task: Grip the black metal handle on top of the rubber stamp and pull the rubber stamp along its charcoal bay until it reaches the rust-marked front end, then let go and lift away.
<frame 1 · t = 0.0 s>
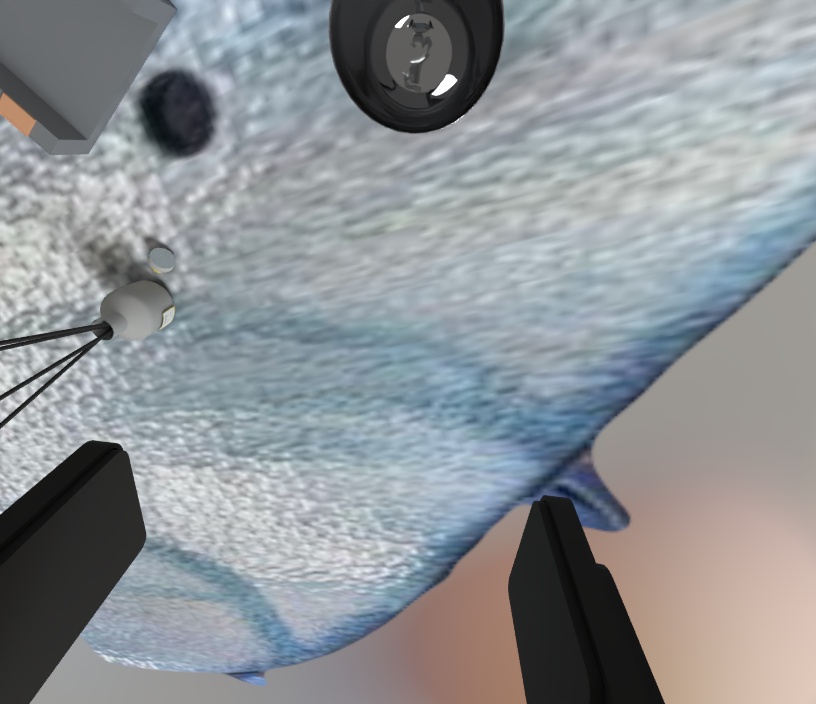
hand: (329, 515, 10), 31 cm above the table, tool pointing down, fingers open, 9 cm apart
wine glass: (423, 81, 33), on the table
reed diffuser: (148, 290, 42), on the table
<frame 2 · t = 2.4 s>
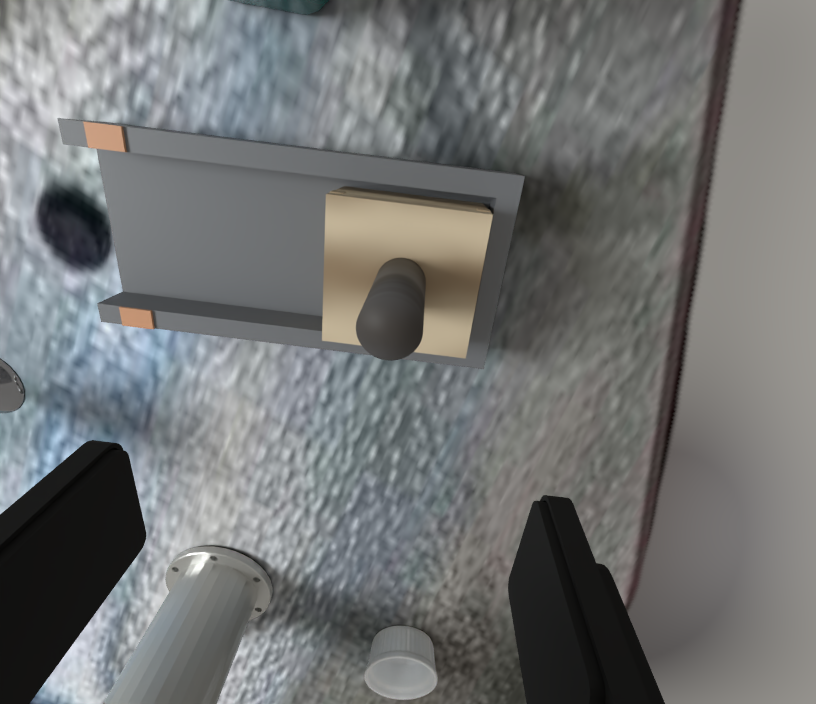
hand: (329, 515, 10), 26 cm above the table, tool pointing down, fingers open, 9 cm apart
ramekin: (403, 641, 56), on the table
rubber stamp: (399, 287, 27), point 8 cm above the table, slide at 0.0 cm
bay: (306, 244, 34), on the table
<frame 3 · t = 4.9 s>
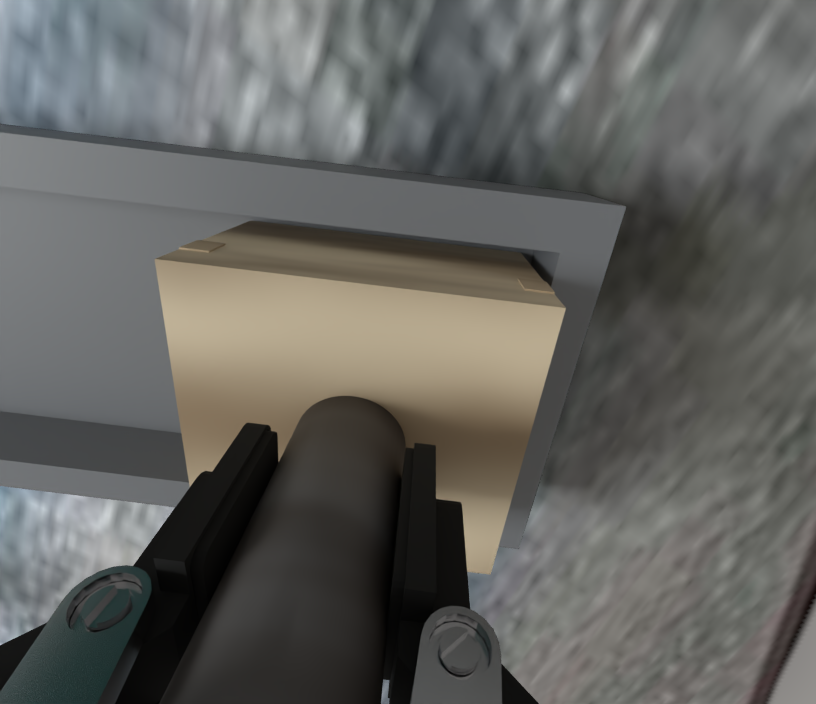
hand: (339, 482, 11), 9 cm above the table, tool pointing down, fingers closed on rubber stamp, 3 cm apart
rubber stamp: (343, 466, 11), point 8 cm above the table, slide at 0.0 cm, touching gripper
bay: (198, 320, 19), on the table
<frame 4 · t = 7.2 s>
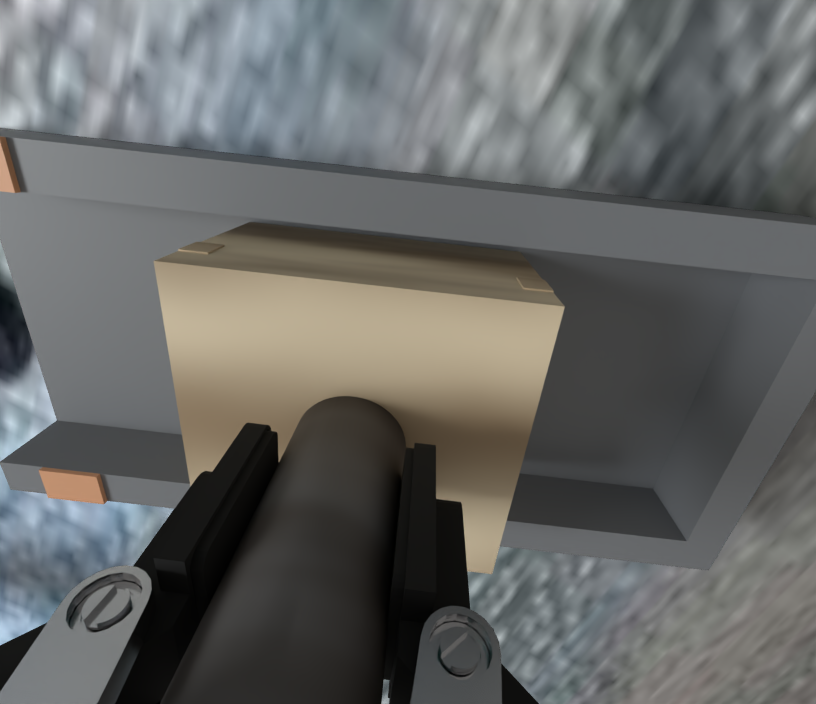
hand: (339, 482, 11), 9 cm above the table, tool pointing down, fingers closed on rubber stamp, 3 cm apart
rubber stamp: (344, 466, 12), point 8 cm above the table, slide at 8.0 cm, touching gripper
bay: (379, 342, 19), on the table
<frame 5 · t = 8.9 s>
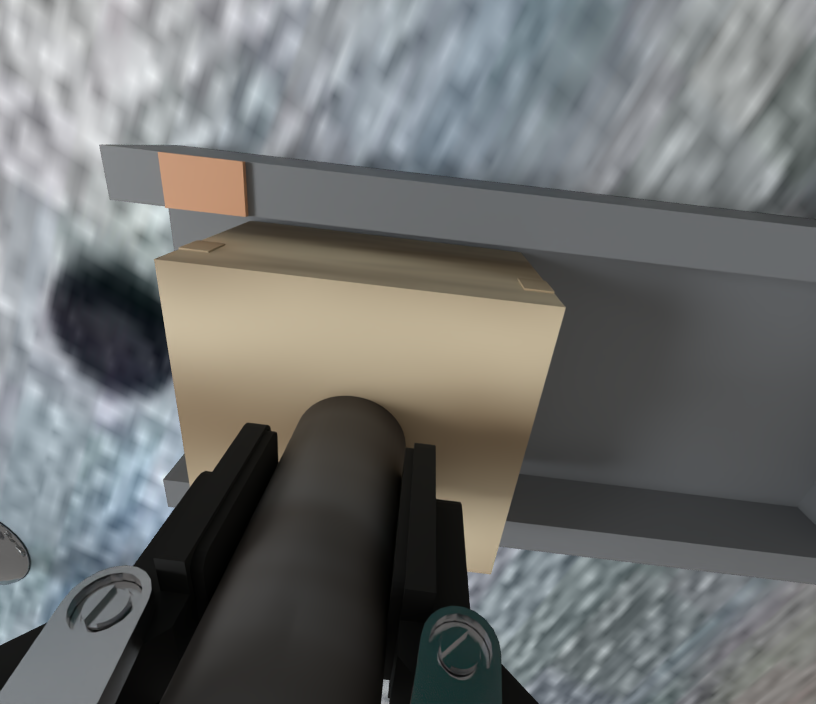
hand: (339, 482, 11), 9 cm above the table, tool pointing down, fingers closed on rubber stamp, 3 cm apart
rubber stamp: (343, 466, 11), point 8 cm above the table, slide at 14.9 cm, touching gripper
bay: (535, 360, 19), on the table
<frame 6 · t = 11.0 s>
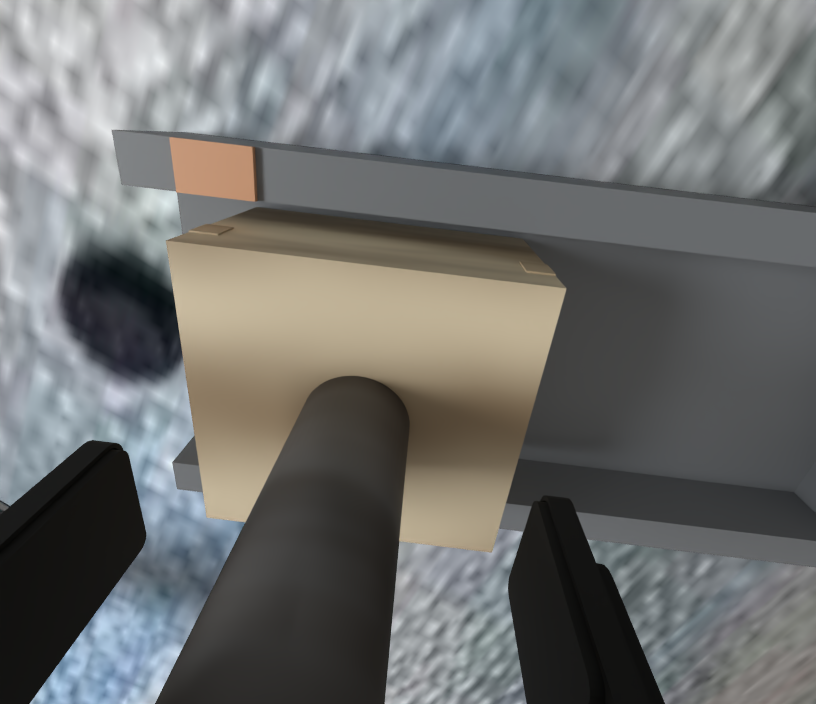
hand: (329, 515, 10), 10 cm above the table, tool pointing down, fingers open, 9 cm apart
rubber stamp: (350, 443, 12), point 8 cm above the table, slide at 15.0 cm
bay: (537, 347, 19), on the table
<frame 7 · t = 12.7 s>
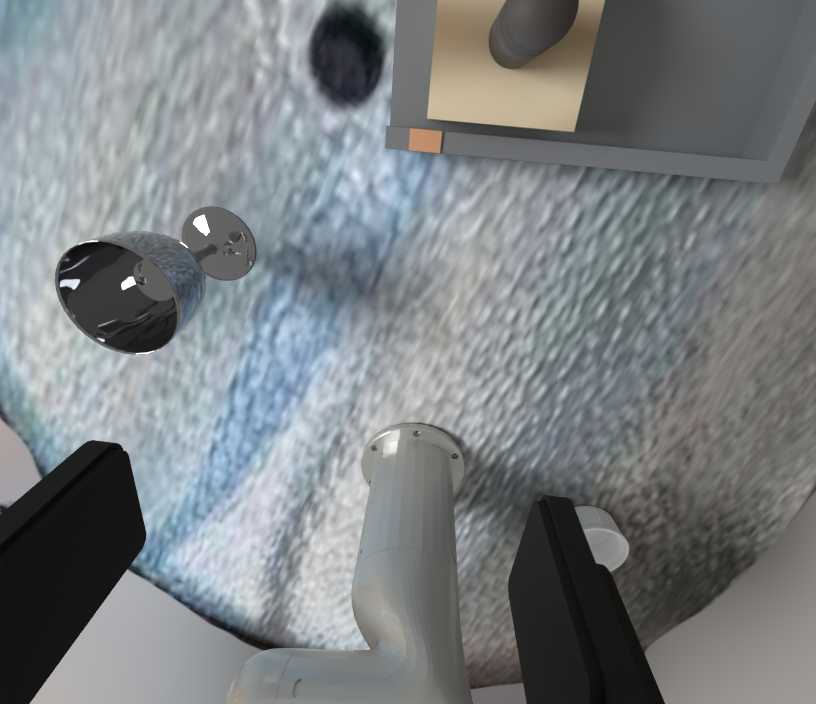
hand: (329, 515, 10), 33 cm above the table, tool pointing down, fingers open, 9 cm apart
wine glass: (219, 244, 41), on the table
ramekin: (580, 524, 57), on the table
rubber stamp: (517, 35, 26), point 8 cm above the table, slide at 15.0 cm
bay: (589, 63, 33), on the table
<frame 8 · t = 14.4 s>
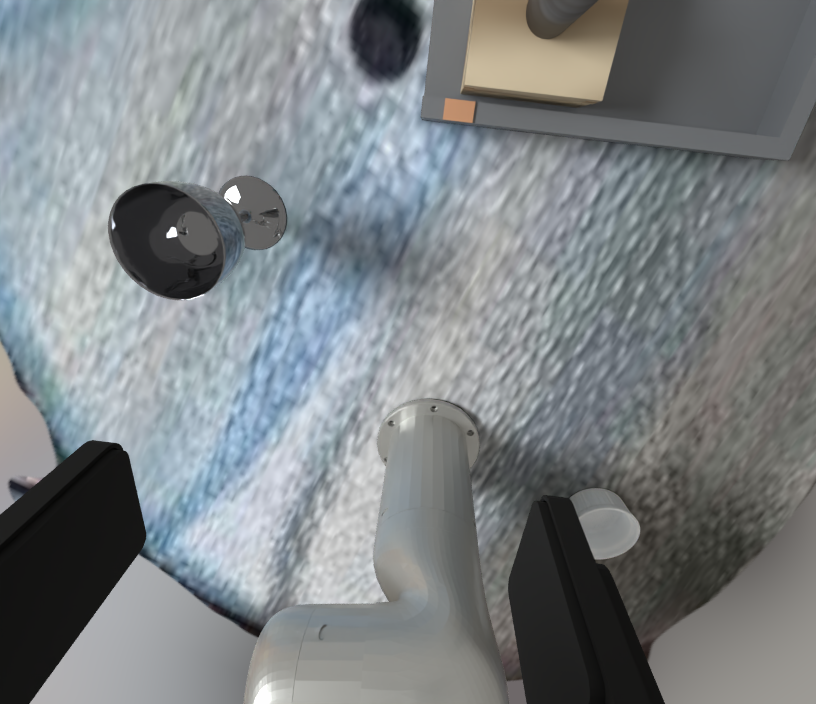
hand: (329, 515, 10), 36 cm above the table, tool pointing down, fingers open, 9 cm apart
wine glass: (251, 213, 43), on the table
ramekin: (591, 507, 57), on the table
rubber stamp: (553, 5, 28), point 8 cm above the table, slide at 15.0 cm
bay: (613, 45, 35), on the table
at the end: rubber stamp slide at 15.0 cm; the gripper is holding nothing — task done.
